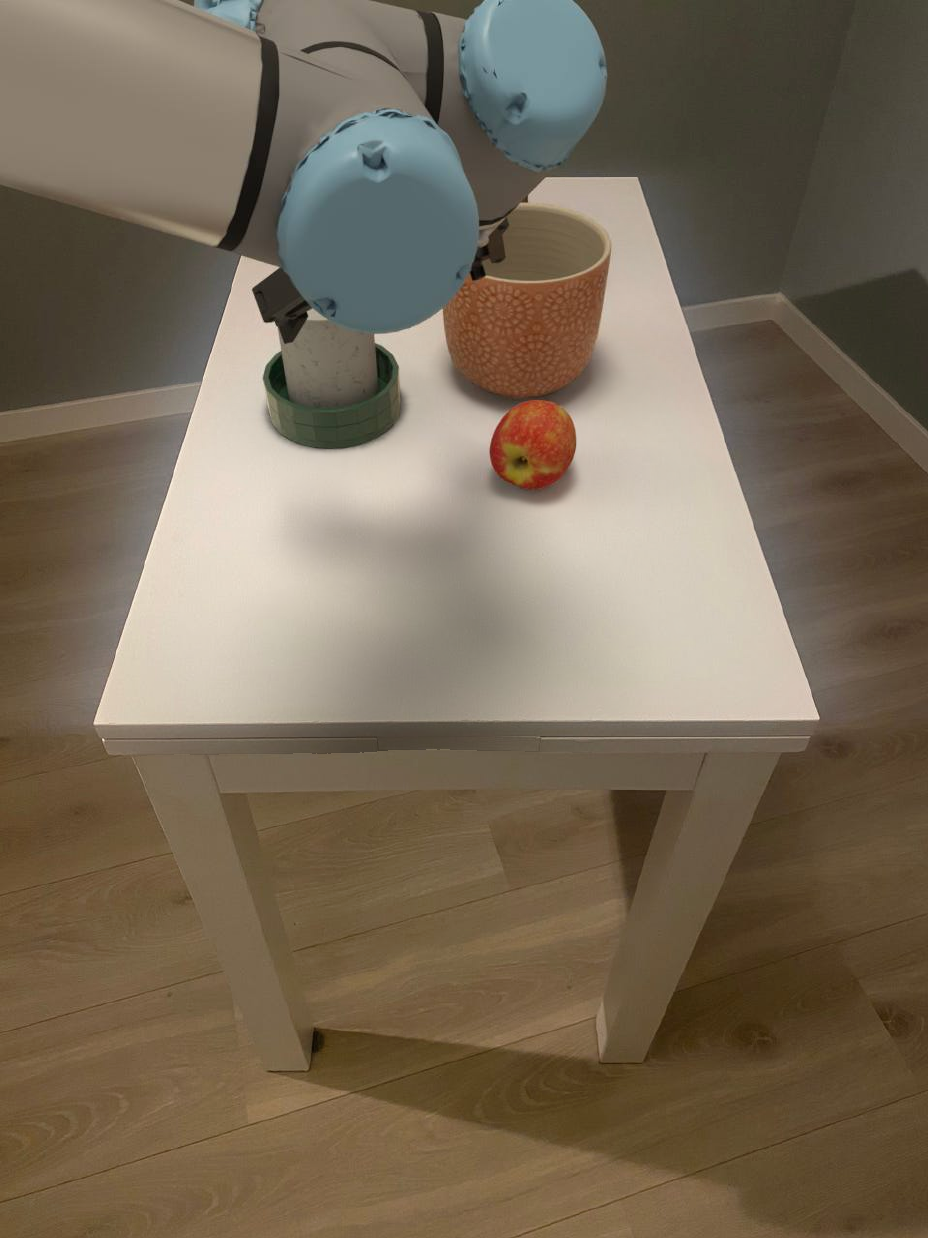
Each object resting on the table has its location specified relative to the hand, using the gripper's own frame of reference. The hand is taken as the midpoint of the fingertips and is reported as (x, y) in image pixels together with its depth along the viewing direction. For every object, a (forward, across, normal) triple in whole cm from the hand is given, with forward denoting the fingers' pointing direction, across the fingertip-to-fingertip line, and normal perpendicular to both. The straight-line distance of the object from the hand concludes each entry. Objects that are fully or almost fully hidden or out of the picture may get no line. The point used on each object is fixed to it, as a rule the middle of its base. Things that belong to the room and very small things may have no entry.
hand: (359, 306), depth 78 cm
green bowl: (+22, +1, -4) cm, 22 cm away
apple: (+8, +14, -18) cm, 24 cm away
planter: (+19, +22, -7) cm, 30 cm away
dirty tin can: (+21, +1, -4) cm, 22 cm away
